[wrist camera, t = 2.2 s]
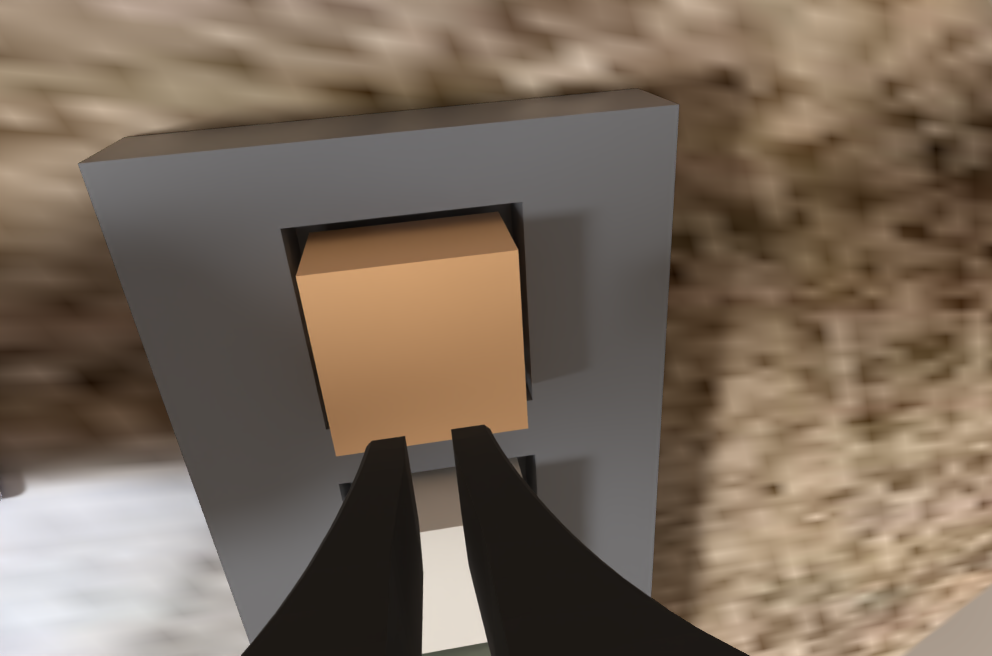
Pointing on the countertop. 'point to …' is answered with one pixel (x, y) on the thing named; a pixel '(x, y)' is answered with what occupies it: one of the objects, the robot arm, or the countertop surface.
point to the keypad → (384, 200)
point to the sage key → (463, 651)
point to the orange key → (415, 329)
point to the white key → (446, 564)
